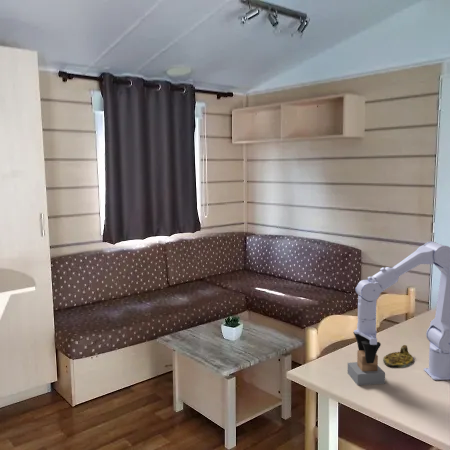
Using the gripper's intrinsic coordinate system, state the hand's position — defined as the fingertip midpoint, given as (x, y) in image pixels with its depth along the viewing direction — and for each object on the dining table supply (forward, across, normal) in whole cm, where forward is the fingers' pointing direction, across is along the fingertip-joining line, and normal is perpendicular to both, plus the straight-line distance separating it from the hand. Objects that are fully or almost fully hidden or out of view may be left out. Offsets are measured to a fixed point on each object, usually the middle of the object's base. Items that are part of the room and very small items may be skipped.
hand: (366, 357), depth 154 cm
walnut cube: (+3, 0, 0) cm, 3 cm away
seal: (+8, -13, +16) cm, 22 cm away
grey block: (+7, 0, 0) cm, 7 cm away
